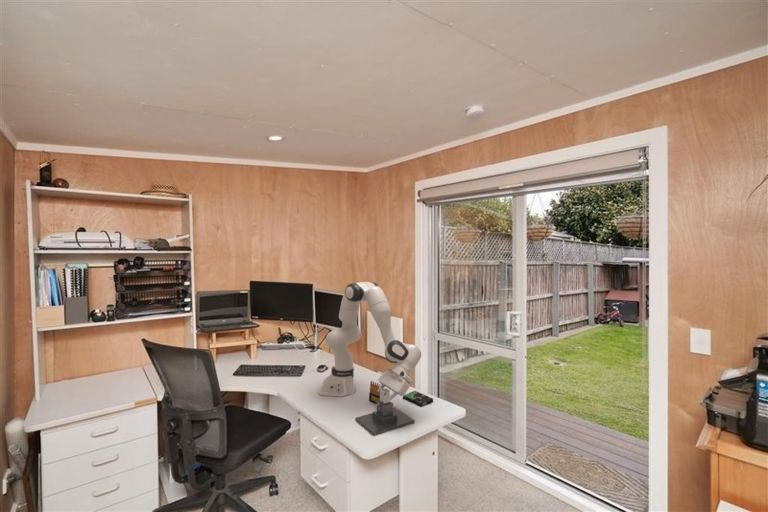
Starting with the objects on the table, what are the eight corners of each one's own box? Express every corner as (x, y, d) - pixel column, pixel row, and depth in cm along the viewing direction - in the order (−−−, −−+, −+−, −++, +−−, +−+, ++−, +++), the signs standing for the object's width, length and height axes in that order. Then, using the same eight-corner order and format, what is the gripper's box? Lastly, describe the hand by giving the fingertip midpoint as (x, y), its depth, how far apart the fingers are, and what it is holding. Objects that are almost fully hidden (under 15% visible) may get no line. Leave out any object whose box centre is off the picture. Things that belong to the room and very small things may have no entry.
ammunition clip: (368, 401, 215) (369, 380, 214) (371, 400, 216) (371, 379, 215) (382, 406, 207) (382, 385, 207) (384, 405, 209) (384, 384, 208)
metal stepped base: (373, 436, 176) (373, 414, 175) (355, 420, 191) (355, 401, 190) (414, 423, 188) (414, 403, 188) (394, 409, 204) (394, 391, 203)
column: (383, 420, 187) (383, 392, 187) (379, 418, 190) (379, 389, 190) (389, 419, 189) (389, 390, 189) (385, 416, 192) (386, 388, 192)
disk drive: (433, 403, 214) (414, 394, 225) (433, 398, 214) (414, 390, 225) (421, 408, 207) (402, 399, 218) (421, 403, 207) (402, 394, 218)
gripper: (385, 364, 201) (369, 385, 196) (407, 375, 184) (391, 399, 179) (392, 371, 204) (376, 392, 199) (415, 383, 187) (398, 406, 182)
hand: (383, 396), depth 189 cm, fingers open, 8 cm apart
